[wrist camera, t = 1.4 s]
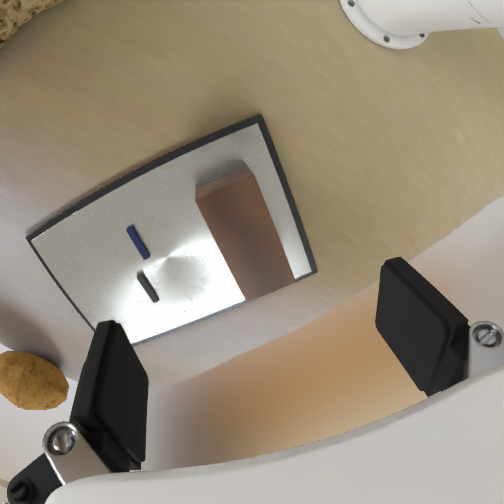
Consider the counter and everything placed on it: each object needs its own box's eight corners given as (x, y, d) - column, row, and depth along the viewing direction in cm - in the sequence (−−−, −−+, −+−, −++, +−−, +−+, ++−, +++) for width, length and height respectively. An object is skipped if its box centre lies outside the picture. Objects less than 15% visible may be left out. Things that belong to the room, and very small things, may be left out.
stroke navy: (132, 225, 32) (131, 227, 31) (150, 255, 33) (150, 257, 33) (126, 228, 32) (125, 230, 31) (144, 258, 34) (143, 260, 33)
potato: (59, 434, 35) (57, 412, 31) (-12, 400, 31) (-24, 370, 27) (73, 389, 43) (75, 360, 39) (7, 358, 39) (2, 325, 35)
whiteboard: (260, 113, 29) (261, 114, 28) (316, 270, 39) (318, 273, 38) (27, 235, 30) (24, 238, 30) (113, 351, 40) (112, 354, 39)
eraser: (245, 162, 31) (254, 174, 26) (284, 258, 36) (296, 282, 32) (195, 184, 31) (194, 200, 26) (240, 277, 37) (246, 302, 32)
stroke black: (142, 272, 34) (141, 275, 34) (159, 298, 36) (159, 301, 36) (136, 275, 34) (135, 277, 34) (154, 301, 36) (153, 303, 36)
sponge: (88, -64, 16) (-58, 8, 11) (83, -90, 10) (-88, 5, 5) (98, 24, 24) (-46, 94, 19) (92, 15, 18) (-77, 107, 14)
